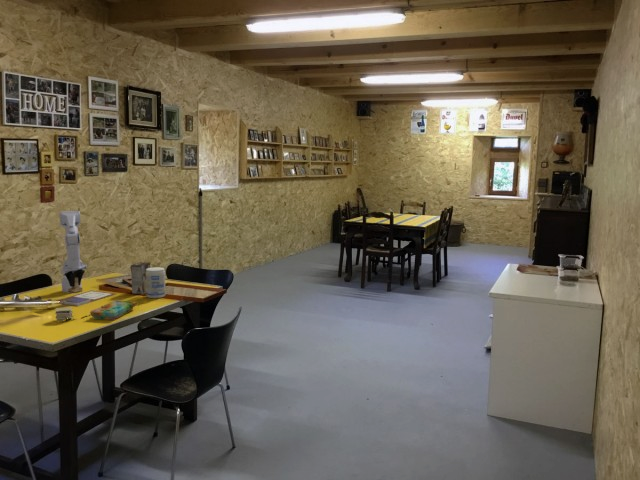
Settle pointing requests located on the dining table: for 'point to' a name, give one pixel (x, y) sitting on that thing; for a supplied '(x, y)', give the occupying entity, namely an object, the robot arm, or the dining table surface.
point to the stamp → (75, 287)
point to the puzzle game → (113, 310)
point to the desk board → (84, 298)
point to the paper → (92, 295)
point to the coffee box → (139, 277)
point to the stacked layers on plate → (63, 313)
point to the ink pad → (77, 301)
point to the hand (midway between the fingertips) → (75, 285)
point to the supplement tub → (155, 282)
